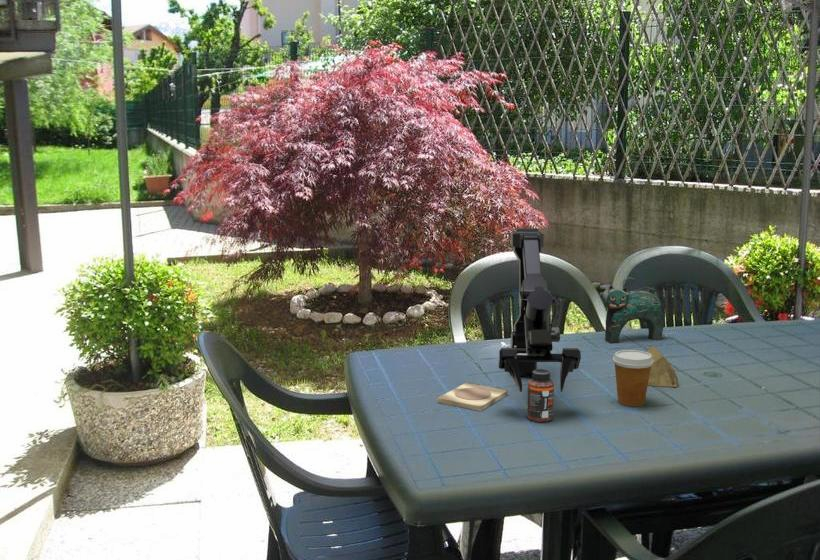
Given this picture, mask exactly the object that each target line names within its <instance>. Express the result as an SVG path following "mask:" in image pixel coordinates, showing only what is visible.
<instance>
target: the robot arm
mask: <svg viewBox="0 0 820 560" xmlns="http://www.w3.org/2000/svg"><path fill="white" fill-rule="evenodd" d="M510 244H511V245H510V246H511V247H512V248H513V249H512V250H513V253H514V255H515V257H516V259H517V261H518V266H519V268H518V269H519V271H518V272H519V273H518V275H519V285H518V287H519V290H518V306H519V316H518V318H517V320H516V321H515V323H514V324H513V330H512V331H511V334H510V345H509V346H510V347H501V348H500V349H499V350H498V358H497V359H498V369H500V370H503V371H504V372H505V373H509V375H510V376H511V378H512V379H513V381H514V382H515V384H516V386H517V387H516V388H517V389H518V390H519V392H520V393H521V392H523V383H522V377H525V378H531V379H532V378H533V377H532V373H533V370H537V369H538V363H560V371H559V390H560V391H559V392H560V393H562V392H563V390H564V386H565V382H566V380H567V377H568V374H569V373H573V371H574V370H577V369H579V368H580V367H579V366H580V363H581V360H582V355H581V350H580V349H579V348H577V347H563V348H562V351H561V353H552V351H553V343H558V342H560V341H561V331H560V327H557V326H556V327H555V326H554V327H553V326H552V327H551V328H550V325H549V323H550V322H549V319H550V317H551V311H552V308H553V307H552V306H553V305H554V304H555V303H556V301H555V300H556V298H555V297H554V296H553V294H552V292H551V291H550V290H549V286H548V282H547V280H545V279H544V278H543V277H542V267H541V266H542V265H541V255H540V254H541V249H542V248H543V247H545V233H544V232H542V231H541V232H540V231H539V228H538V227H537V228H534V227H532V228H531V227H529V228H525V227H524V228H518V227H517V228H515V230H514V232H510Z"/></svg>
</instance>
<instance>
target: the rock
mask: <svg viewBox="0 0 820 560" xmlns="http://www.w3.org/2000/svg"><path fill="white" fill-rule="evenodd" d="M646 352H647V353H649V354H651V356H652V359H653V363H652V366H651V370H650V375H649V381H648V386H650V387H668V388H669V387H670V388H671V387H672V388H674V387H675V388H677V387H678V386H679V379H678V376H677V373H676V371H675V369H674V367H672V365H671V363H670V362H669V361H668V359H667V358H666V357H665V356H664V355H663V354H662V353H661V352H660V351H659V350H658V348H656V347H653V346H649V347H648V350H647V351H646ZM648 386H647V387H648Z"/></svg>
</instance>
